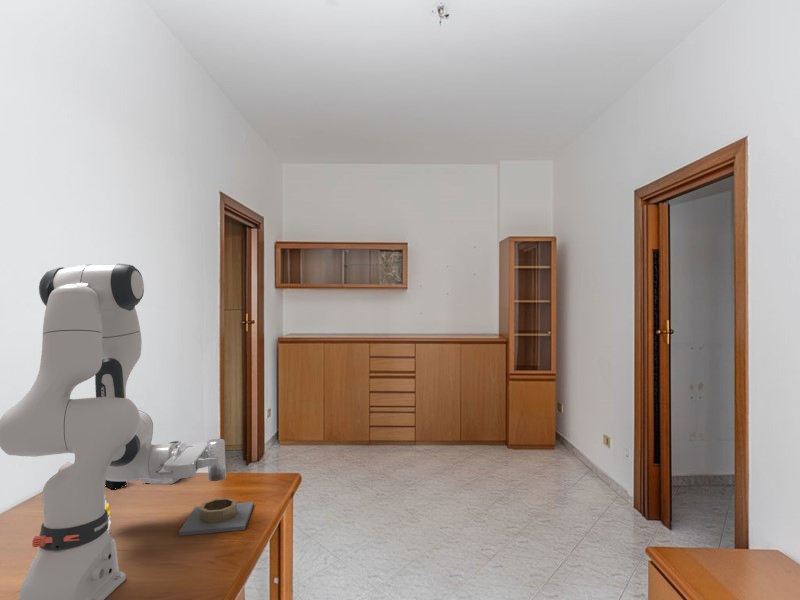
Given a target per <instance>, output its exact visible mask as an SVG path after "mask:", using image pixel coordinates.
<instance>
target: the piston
mask: <svg viewBox="0 0 800 600" xmlns="http://www.w3.org/2000/svg"><path fill="white" fill-rule="evenodd" d="M206 442H207V449H208V458H211V457H218V463H217V465H211V466H207V471H208V473H207V474H208V481H210V482H219V481H222V480H225V479H226V478H227V474H226V473H227V469H226V441H225V439H223V438H213V439H209V440H207V441H206Z"/></svg>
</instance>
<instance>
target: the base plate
mask: <svg viewBox="0 0 800 600" xmlns="http://www.w3.org/2000/svg"><path fill="white" fill-rule="evenodd" d="M254 506H255V505H254V501H247V502H237V513H236V515H235V517H234V518H232V519H229V520H227V521H224V522H220V523H209V524H207V523H205V522H203V521H200V518H199V508H200V507H201V505H199V506H198V505H197V506H194V508H193V509H192V511H191V512H190V514H189V516H188V517H187V519H186V520H185V521H184V523H183V525H182V527H181V528H180V530H179V531H178V535H179V537H180V536H188V535H189V536H190V535H200V534H214V533H224V532H226V533H227V532H233V531H234V532H235V531H245V530H246V528H247V524H248V521H249V519H250V517H251V514H252V511H253V508H254Z"/></svg>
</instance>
